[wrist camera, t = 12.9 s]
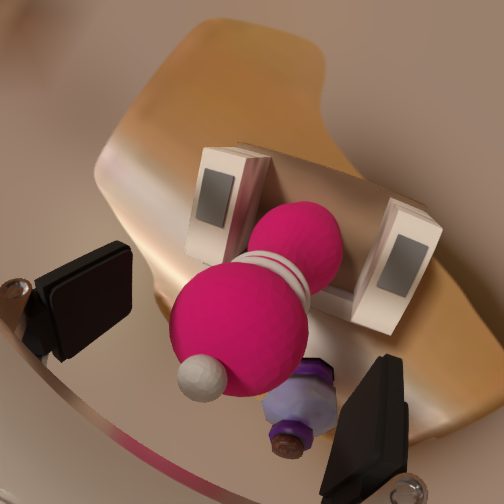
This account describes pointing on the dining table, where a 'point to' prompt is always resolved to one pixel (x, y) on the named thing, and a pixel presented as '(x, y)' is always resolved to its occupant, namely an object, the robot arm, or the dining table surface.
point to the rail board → (342, 208)
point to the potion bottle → (301, 408)
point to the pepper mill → (255, 306)
